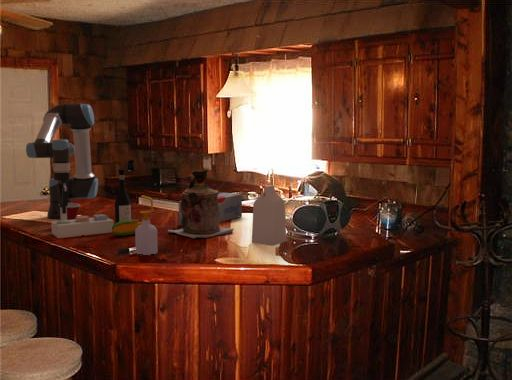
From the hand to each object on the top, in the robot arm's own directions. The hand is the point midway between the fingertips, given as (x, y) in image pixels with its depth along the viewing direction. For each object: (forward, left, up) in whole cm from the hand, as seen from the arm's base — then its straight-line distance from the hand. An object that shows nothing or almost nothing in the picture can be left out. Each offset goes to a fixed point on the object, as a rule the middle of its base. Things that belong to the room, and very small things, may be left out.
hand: (63, 219), depth 275 cm
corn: (+16, +28, -8) cm, 33 cm away
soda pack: (+5, +78, -8) cm, 79 cm away
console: (0, +9, -7) cm, 12 cm away
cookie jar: (+31, +58, -8) cm, 67 cm away
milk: (+66, +76, -8) cm, 101 cm away
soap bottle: (+57, +20, -8) cm, 61 cm away
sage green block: (0, 0, -6) cm, 6 cm away
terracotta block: (0, +9, -4) cm, 10 cm away
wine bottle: (-7, +32, -8) cm, 34 cm away
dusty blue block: (0, +18, -4) cm, 18 cm away
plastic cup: (-20, +8, -8) cm, 23 cm away
